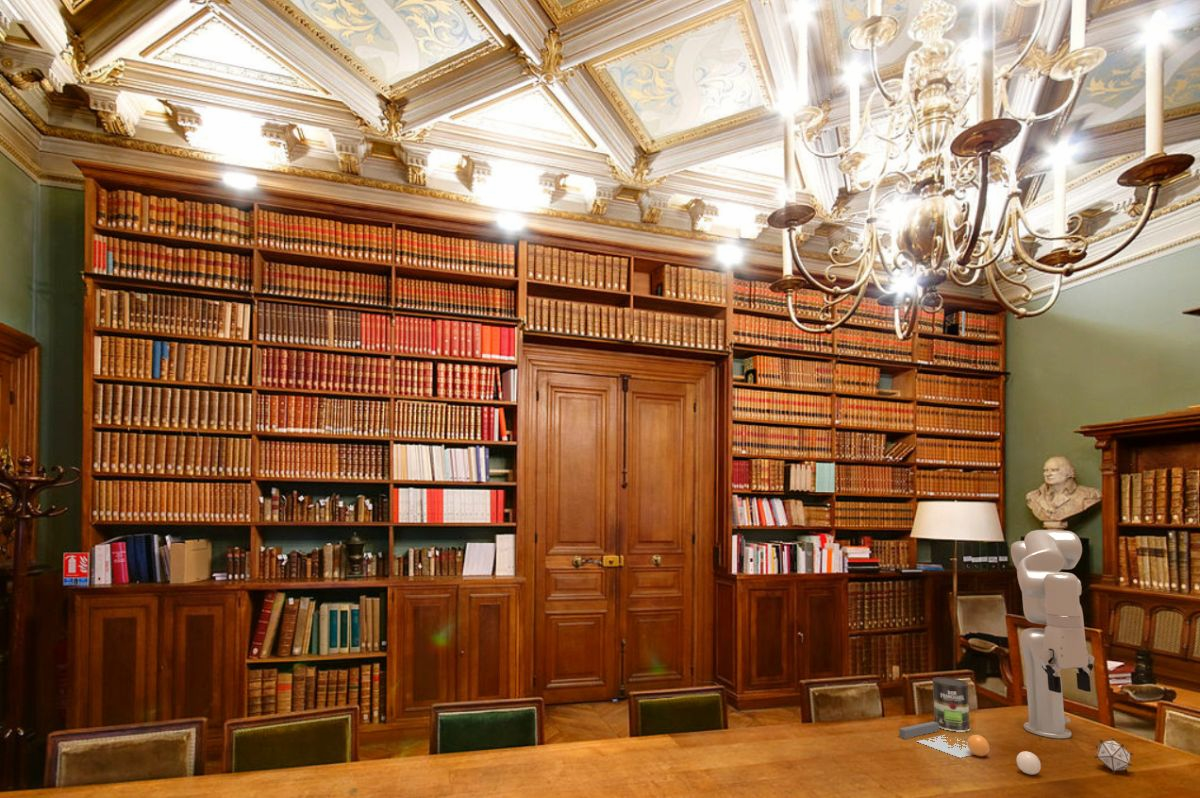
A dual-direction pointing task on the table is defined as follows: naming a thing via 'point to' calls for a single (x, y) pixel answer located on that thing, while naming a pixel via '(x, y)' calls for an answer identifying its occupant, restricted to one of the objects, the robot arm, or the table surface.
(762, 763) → the table surface
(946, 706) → the coffee can
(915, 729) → the bar
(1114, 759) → the game die
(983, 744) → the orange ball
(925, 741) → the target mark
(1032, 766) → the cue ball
